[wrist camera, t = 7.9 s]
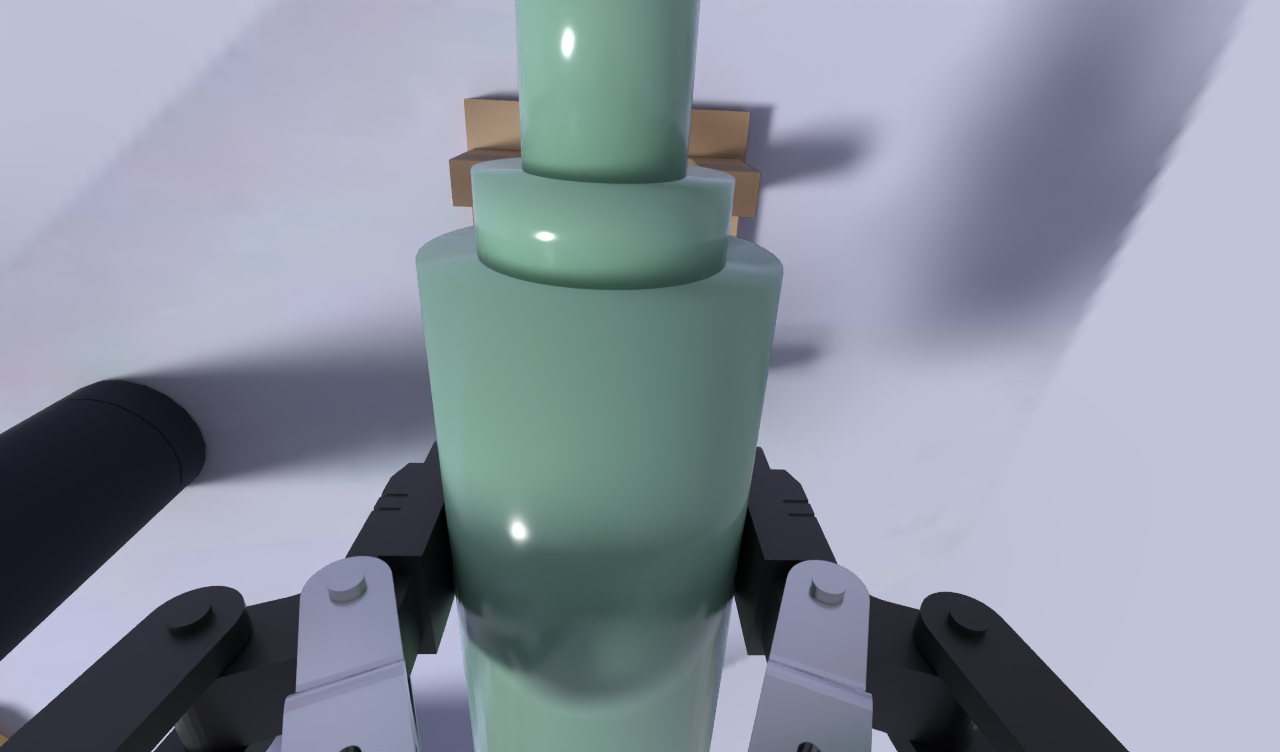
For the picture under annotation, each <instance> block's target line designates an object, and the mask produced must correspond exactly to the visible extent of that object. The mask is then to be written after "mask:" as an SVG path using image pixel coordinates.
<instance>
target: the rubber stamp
mask: <svg viewBox="0 0 1280 752" xmlns="http://www.w3.org/2000/svg"><path fill="white" fill-rule="evenodd" d="M7 740H8V738H7V737H5V736H4V735H2V734H0V747H1V746H2V745H3V744H4V743H5V742H6V741H7Z"/></svg>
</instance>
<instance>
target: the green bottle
mask: <svg viewBox="0 0 1280 752" xmlns="http://www.w3.org/2000/svg"><path fill="white" fill-rule="evenodd" d="M515 9H516V35H517V61H518V87H519V113H520V139H521V157H517V158H506V159H498V160H491V161H486V162H482V163H478V164H476V165H474V166H472V167H471V182H472V195H473V209H474V223H475V226H471V227H467V228H463V229H459V230H456V231H452V232H449V233H446V234H444V235H441V236H439V237H437V238H434V239H433V240H431V241H429V242H428V243H426V244H425V245H424V246H423V247H421V248H420V249H419V251H418V253H417V255H416V269H417V277H418V285H419V294H420V302H421V310H422V319H423V327H424V335H425V344H426V352H427V360H428V369H429V377H430V385H431V394H432V402H433V411H434V419H435V427H436V436H437V444H438V452H439V461H440V469H441V477H442V486H443V494H444V502H445V511H446V519H447V527H448V536H449V544H450V553H451V561H452V569H453V578H454V586H455V594H456V603H457V611H458V619H459V628H460V636H461V644H462V653H463V661H464V670H465V678H466V686H467V695H468V703H469V711H470V720H471V728H472V736H473V745H474V752H709V750H710V744H711V738H712V732H713V725H714V719H715V712H716V706H717V699H718V693H719V686H720V680H721V674H722V667H723V661H724V654H725V648H726V641H727V635H728V628H729V622H730V615H731V609H732V602H733V596H734V589H735V583H736V576H737V570H738V563H739V557H740V551H741V544H742V538H743V531H744V525H745V518H746V512H747V505H748V499H749V492H750V486H751V479H752V473H753V466H754V460H755V453H756V447H757V440H758V434H759V428H760V421H761V415H762V408H763V402H764V395H765V389H766V382H767V376H768V369H769V363H770V356H771V350H772V343H773V337H774V330H775V324H776V317H777V311H778V304H779V298H780V292H781V285H782V279H783V265H782V264H781V262H780V260H779V259H778V258H777V257H776V256H775V255H774V254H772V253H771V252H769V251H768V250H766V249H765V248H763V247H761V246H759V245H757V244H755V243H752V242H749V241H747V240H744V239H742V238H739V237H735V236H732V235H729V234H730V225H731V216H732V207H733V198H734V188H735V178H734V177H733V176H731V175H730V174H727V173H725V172H722V171H718V170H714V169H710V168H705V167H701V166H695V165H689V164H688V153H689V140H690V127H691V114H692V101H693V88H694V75H695V62H696V49H697V36H698V23H699V10H700V0H515Z"/></svg>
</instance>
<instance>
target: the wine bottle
mask: <svg viewBox="0 0 1280 752" xmlns="http://www.w3.org/2000/svg"><path fill="white" fill-rule="evenodd" d="M204 462H205V443H204V441H203V438H202V436H201V433H200V431H199V428H198V426H197V425H196V424H195V423H194V421H193V420H192V419H191V418H190V416H189V415H188V414H187V413H186V411H185V410H184V409H182V408H181V407H180V406H178V405H177V404H176V403H175V402H173V401H172V400H171V399H169V398H168V397H167V396H165V395H163V394H161V393H159V392H156V391H154V390H152V389H150V388H148V387H146V386H143V385H138V384H134V383H129V382H125V381H102V382H97V383H94V384H91V385H89V386H86V387H83V388H80V389H79V390H77V391H75V392H73V393H72V394H70V395H68V396H66V397H65V398H63V399H61V400H59V401H58V402H56V403H54V404H52V405H51V406H49V407H47V408H45V409H44V410H42V411H40V412H38V413H37V414H35V415H33V416H31V417H30V418H28V419H26V420H24V421H22V422H21V423H19V424H17V425H15V426H14V427H12V428H10V429H8V430H7V431H5V432H3V433H1V434H0V661H1V660H2V659H3V658H4V657H5V656H6V655H7V654H8V653H9V652H11V651H12V650H13V649H14V648H15V647H16V646H17V645H18V644H19V643H20V642H21V641H22V640H23V639H24V638H25V637H27V636H28V635H29V634H30V633H31V632H32V631H33V630H34V629H35V628H36V627H37V626H38V625H39V624H40V623H41V622H42V621H44V620H45V619H46V618H47V617H48V616H49V615H50V614H51V613H52V612H53V611H54V610H55V609H56V608H57V607H58V606H59V605H61V604H62V603H63V602H64V601H65V600H66V599H67V598H68V597H69V596H70V595H71V594H72V593H73V592H74V591H75V590H77V589H78V588H79V587H80V586H81V585H82V584H83V583H84V582H85V581H86V580H87V579H88V578H89V577H90V576H91V575H92V574H94V573H95V572H96V571H97V570H98V569H99V568H100V567H101V566H102V565H103V564H104V563H105V562H106V561H107V560H108V559H110V558H111V557H112V556H113V555H114V554H115V553H116V552H117V551H118V550H119V549H120V548H121V547H122V546H123V545H124V544H125V543H127V542H128V541H129V540H130V539H131V538H132V537H133V536H134V535H135V534H136V533H137V532H138V531H139V530H140V529H141V528H142V527H144V526H145V525H146V524H147V523H148V522H149V521H150V520H151V519H152V518H153V517H154V516H155V515H156V514H157V513H158V512H160V511H161V510H162V509H163V508H164V507H165V506H166V505H167V504H168V503H169V502H170V501H171V500H172V499H173V498H174V497H175V496H177V495H178V494H179V493H180V492H181V491H182V490H183V489H184V488H185V487H186V486H187V485H188V484H189V483H190V482H191V481H192V480H194V479H195V478H196V477H197V476H198V475H199V473H200V471H201V468H202V466H203V464H204Z"/></svg>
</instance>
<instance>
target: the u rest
mask: <svg viewBox="0 0 1280 752" xmlns="http://www.w3.org/2000/svg"><path fill="white" fill-rule="evenodd" d="M464 106H465V119H466V132H467V145H468V151H467V152H465V153H463V154H461V155H459V156H456V157H454V158H452V159H450V160H449V166H450V177H451V188H452V199H453V206H465V207H472V210H473V223H474V209H473V195H472V182H471V167H472V166H474V165H476V164H478V163H482V162H486V161H491V160H498V159H506V158H517V157H521V139H520V113H519V101H514V100H493V99H471V98H469V99H464ZM749 121H750V112H747V111H729V110H708V109H692V114H691V127H690V140H689V153H688V164H689V165H695V166H701V167H705V168H710V169H714V170H718V171H722V172H725V173H727V174H730V175H731V176H733V177H734V178H735V188H734V198H733V207H732V216H731V225H730V234H729V235H732V236H735V237H736V236H737V227H738V218H739V217H755V216H756V208H757V200H758V192H759V184H760V176H761V172H759V171H757V170H756V169H754V168H752V167H751V166H749V165H747V164H746V163H745V156H746V148H747V139H748V130H749ZM474 226H475V223H474Z"/></svg>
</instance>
